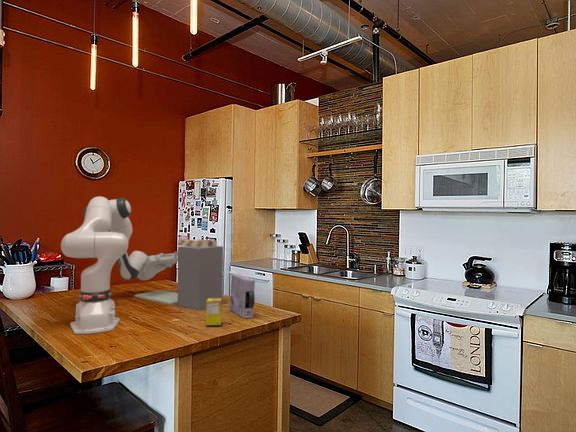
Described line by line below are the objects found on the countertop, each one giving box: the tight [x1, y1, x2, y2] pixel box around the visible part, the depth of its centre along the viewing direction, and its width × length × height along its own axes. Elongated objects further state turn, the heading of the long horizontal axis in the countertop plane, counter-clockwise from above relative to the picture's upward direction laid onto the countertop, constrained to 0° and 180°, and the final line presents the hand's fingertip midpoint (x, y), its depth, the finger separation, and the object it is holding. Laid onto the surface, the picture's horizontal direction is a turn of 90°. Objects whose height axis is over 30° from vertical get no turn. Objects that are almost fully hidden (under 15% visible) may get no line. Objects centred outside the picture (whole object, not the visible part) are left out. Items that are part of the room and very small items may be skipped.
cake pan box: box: [229, 273, 256, 320], centre depth 183 cm, size 19×5×18 cm, turn 30°
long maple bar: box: [177, 238, 208, 247], centre depth 203 cm, size 20×3×3 cm, turn 54°
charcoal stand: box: [177, 245, 224, 311], centre depth 200 cm, size 16×16×30 cm
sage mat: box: [134, 289, 178, 306], centre depth 216 cm, size 32×18×1 cm, turn 54°
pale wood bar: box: [199, 239, 218, 247], centre depth 204 cm, size 12×3×3 cm, turn 54°
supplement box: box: [205, 298, 223, 328], centre depth 165 cm, size 6×6×11 cm
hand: (170, 253), depth 214 cm, fingers open, 8 cm apart
